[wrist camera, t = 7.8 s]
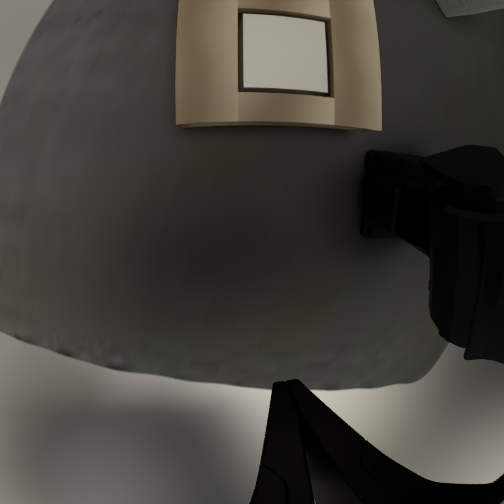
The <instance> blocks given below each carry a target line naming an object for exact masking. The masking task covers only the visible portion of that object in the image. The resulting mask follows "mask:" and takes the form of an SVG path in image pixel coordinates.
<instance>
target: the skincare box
mask: <svg viewBox="0 0 504 504" xmlns="http://www.w3.org/2000/svg"><path fill="white" fill-rule="evenodd" d="M435 1H436V2H437V4H438V6H439V7H440V9H441V11H442V13H443V14H444V16H445V17H446V18H448V17H455V16H464V15H473V14H478V13H482V12H487V11H491V10H496V9H502V8H504V0H435Z"/></svg>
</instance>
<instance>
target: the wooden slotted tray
mask: <svg viewBox="0 0 504 504" xmlns="http://www.w3.org/2000/svg"><path fill="white" fill-rule="evenodd" d="M243 14H260V15H274V16H284V17H293V18H300V19H307V20H314V21H319V22H325V37H326V55H327V82H328V93H325V94H322V95H319V96H311V95H299V94H285V93H261V92H239V26H240V22H241V19H242V16H243ZM176 125H178V126H180V127H182V128H189V127H205V126H230V125H277V126H302V127H318V128H331V129H342V130H363V131H382V97H381V71H380V56H379V44H378V34H377V25H376V17H375V10H374V4H373V0H179V5H178V21H177V41H176Z"/></svg>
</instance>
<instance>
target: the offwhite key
mask: <svg viewBox="0 0 504 504" xmlns="http://www.w3.org/2000/svg"><path fill="white" fill-rule="evenodd" d="M239 92H261V93H285V94H299V95H311V96H319V95H322V94H325V93H328V82H327V55H326V37H325V22H319V21H314V20H307V19H300V18H293V17H284V16H274V15H260V14H243V16H242V19H241V22H240V26H239Z"/></svg>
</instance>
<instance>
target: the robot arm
mask: <svg viewBox="0 0 504 504" xmlns="http://www.w3.org/2000/svg"><path fill="white" fill-rule="evenodd" d="M373 154H374V155H375V159H374V160H372V155H373ZM361 213H362V219H361V228H360V233H361V235H362V236H363V237H365V238H384V237H399V238H401V239H402V240H404V241H405V242H407V243H409V244H410V245H412V246H413V247H415V248H416V249H418V250H419V251H421V252H423V253H424V254H426V255H427V256H429V257H430V280H429V287H428V288H429V310H430V316H431V318H432V320H433V322H434V323H435V325H436V327H437V328H438V329H439V335H440V336H441V337H443V338H444V339H445V340H447V341H448V342H450V343H452V344H454V345H457V346H459V347H462V348H466V349H465V353H464V359H465V360H474V359H487V360H494V361H497V362H500V363H503V364H504V156H503V155H502V154H501V153H500V152H499V150H498V149H497V148H495V147H487V146H476V145H465V146H461V147H458V148H454V149H451V150H447V151H444V152H441V153H437V154H434V155H430V156H427V157H420V156H414V155H407V154H400V153H393V152H385V151H376V150H370V151H368V153H367V155H366V169H365V178H364V180H363V193H362V205H361ZM367 229H369V231H368V232H367V233H366V230H367ZM314 499H315V502H316V504H504V474H503V475H502V476H500V477H499V478H498V479H497V480H496V481H494V482H492V483H488V484H454V483H439V482H434V481H431V480H428V479H425V478H423V477H421V476H419V475H417V474H416V473H414V472H412V471H411V470H409V469H407V468H405V467H404V466H402V465H400V464H399V463H397V462H395V461H394V460H392V459H391V458H389V457H388V456H386V455H385V454H383V453H382V452H381V451H379V450H378V449H377V448H375V447H374V446H373V445H372V444H370V443H369V442H368V441H367V440H365V439H364V438H363V437H362V436H361V435H360V434H359V433H357V432H356V431H355V430H354V429H353V428H351V427H350V426H349V425H348V424H347V423H346V422H345V421H343V420H342V419H341V418H340V417H339V416H338V415H337V414H336V413H334V412H333V411H332V410H331V409H330V408H329V407H328V406H327V405H325V404H324V403H323V402H322V401H321V400H320V399H319V398H318V397H316V395H314V394H313V393H312V392H311V391H310V390H309V389H308V388H307V387H306V386H305V385H304V384H303V383H302V382H300V381H299V380H298V379H293V380H287V381H286V382H285V381H279V382H274V383H273V387H272V394H271V401H270V407H269V413H268V420H267V426H266V432H265V438H264V444H263V450H262V456H261V461H260V466H259V472H258V477H257V481H256V485H255V489H254V492H253V495H252V498H251V501H250V503H249V504H315V502H314Z"/></svg>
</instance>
